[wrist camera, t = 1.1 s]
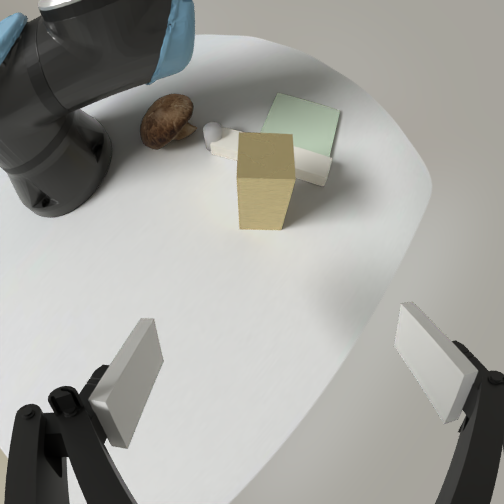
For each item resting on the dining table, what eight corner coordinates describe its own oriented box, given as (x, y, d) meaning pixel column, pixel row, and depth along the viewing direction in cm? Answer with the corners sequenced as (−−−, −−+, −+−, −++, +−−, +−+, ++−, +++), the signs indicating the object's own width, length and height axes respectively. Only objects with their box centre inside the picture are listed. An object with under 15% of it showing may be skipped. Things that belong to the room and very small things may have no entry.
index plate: (257, 141, 37) (258, 138, 37) (277, 95, 40) (277, 92, 39) (327, 162, 37) (328, 159, 36) (339, 113, 39) (340, 110, 39)
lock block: (239, 229, 34) (236, 177, 23) (240, 192, 35) (238, 132, 25) (281, 230, 34) (295, 179, 23) (280, 193, 35) (292, 134, 25)
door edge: (201, 151, 37) (198, 136, 34) (211, 133, 38) (208, 117, 35) (323, 186, 36) (329, 173, 33) (328, 166, 36) (334, 152, 33)
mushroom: (220, 118, 35) (183, 87, 30) (178, 171, 36) (138, 145, 31) (195, 107, 40) (163, 81, 35) (160, 151, 41) (125, 129, 36)
